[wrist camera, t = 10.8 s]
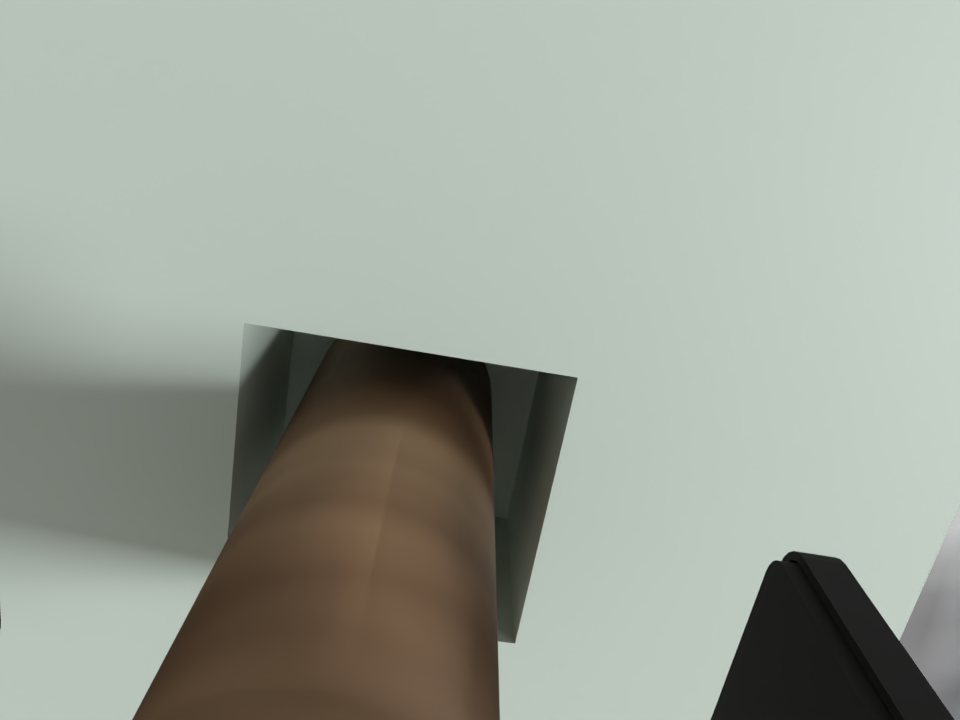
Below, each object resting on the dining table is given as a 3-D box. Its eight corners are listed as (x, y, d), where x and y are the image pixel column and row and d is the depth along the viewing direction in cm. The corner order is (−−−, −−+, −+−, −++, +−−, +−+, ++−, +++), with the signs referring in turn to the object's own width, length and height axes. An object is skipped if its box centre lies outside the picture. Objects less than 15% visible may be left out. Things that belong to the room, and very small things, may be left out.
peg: (324, 298, 16) (87, 661, 6) (504, 326, 16) (537, 717, 6) (309, 459, 17) (95, 959, 8) (476, 483, 17) (470, 1000, 8)
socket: (-29, -184, 14) (-294, -314, 9) (962, 15, 15) (1187, -8, 10) (5, 650, 20) (-142, 831, 15) (701, 744, 21) (766, 940, 16)
